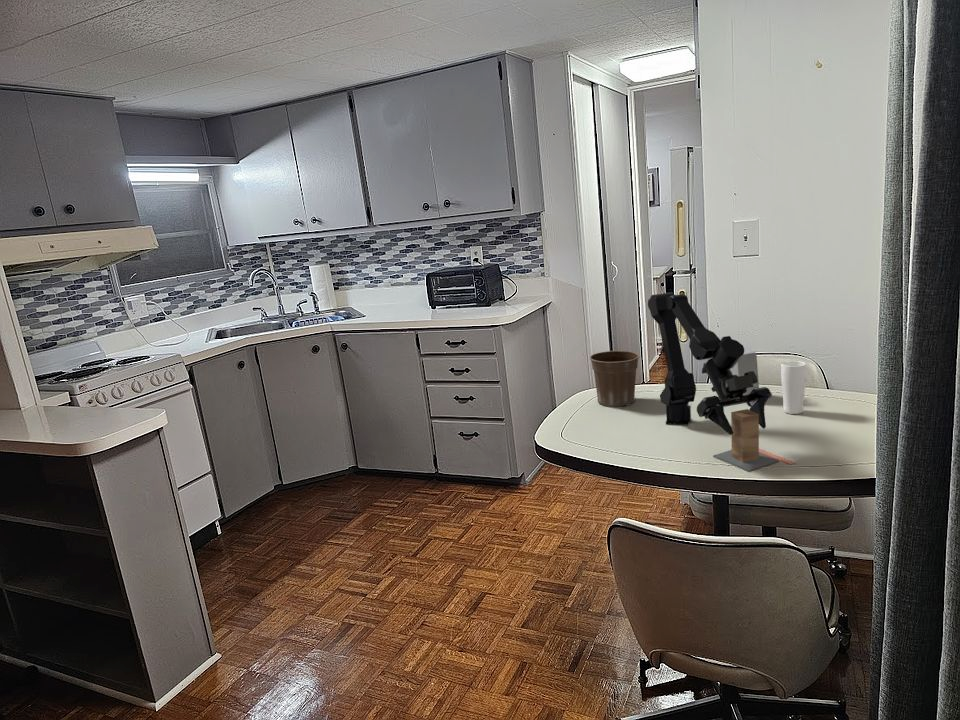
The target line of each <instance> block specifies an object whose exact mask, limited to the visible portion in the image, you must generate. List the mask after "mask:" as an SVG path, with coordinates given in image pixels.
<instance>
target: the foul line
mask: <svg viewBox="0 0 960 720" xmlns="http://www.w3.org/2000/svg"><path fill="white" fill-rule="evenodd" d="M759 453H761V454H763V455H766V456H769V457H771V458H774V459H777V460H779V462H782V463H785V464H788V465H790V466H791V465H794V464H796V462H795V461H794V460H791V459H787V458H785V457H783V456H780V455H777V454H775V453H774V454H773V453H772V452H768V451H766V450H763V449H760V448H759Z"/></svg>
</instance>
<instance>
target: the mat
mask: <svg viewBox="0 0 960 720" xmlns="http://www.w3.org/2000/svg"><path fill="white" fill-rule="evenodd" d="M712 457H713V458H715V459H717V460H720V461H722V462H724V463H727V464H729V465H732V466H734V467H736V468H740V469H741V470H744V471H745V472H746V471H747V472H752V471H755V470H758V469H761V468H765V467H767V466H771V465H773V464H776V463H779V462H780V461H779V460H777V459H774V458H771V457H769V456H766V455H763V454H761V453H759V459H758V460H753V461H748V462H741V461H739V460H737V459H735V458H734V457H732V449H730V450H726V451H723V452H719V453H717V454H714V455H713V456H712Z"/></svg>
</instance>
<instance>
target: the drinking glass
mask: <svg viewBox="0 0 960 720" xmlns="http://www.w3.org/2000/svg"><path fill="white" fill-rule="evenodd" d="M780 365H781V367H780V381H781V390H782V391H781V392H782V402H783V403H782V404H783V407H782V409H783V412H784V413H785V414H790V415H799V414H802V413H803V411H804V399H805V393H806V392H805V390H806V381H807V363H806V362H803V361H799V360H789V361H788V360H787V361H783V362H781V364H780Z"/></svg>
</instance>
